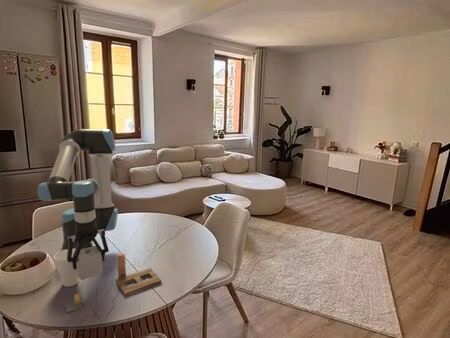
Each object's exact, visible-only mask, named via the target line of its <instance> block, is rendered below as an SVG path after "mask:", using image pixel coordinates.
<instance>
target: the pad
mask: <svg viewBox="0 0 450 338" xmlns="http://www.w3.org/2000/svg"><path fill="white" fill-rule="evenodd" d="M80 295H81V294H80V293H75V294H74V295H73V296H74V298H73V299H74V301H72V302H69V303H68V302H67V303H66V304H64V307H65V312H66V313H67V314H70V313H72V312H76V311H78V310H80V309H82V308H83V307H82V306H83V305H82V304H81V299H80V298H81V297H80Z"/></svg>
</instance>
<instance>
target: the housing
mask: <svg viewBox="0 0 450 338" xmlns="http://www.w3.org/2000/svg"><path fill="white" fill-rule="evenodd" d="M77 260H78V262H79V272H80V277H79V278H80V280H81V281H83V280H86V279H89V278H93V277H97V276H99V275H103V274H104V273H103V270H102V266H103V262H102V259H101V252H100V251H99V250H98V248H97V247H96V245H93V246H92V247H88V248H84V249H81V250H80V253H79V256H78V258H77Z"/></svg>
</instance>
